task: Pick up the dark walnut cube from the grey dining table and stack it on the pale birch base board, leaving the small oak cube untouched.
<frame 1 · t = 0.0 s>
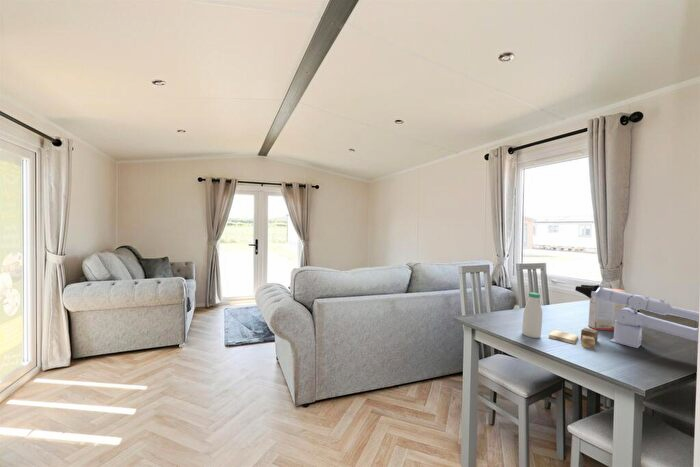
hand: (578, 287, 162), 22 cm above the table, tool horizontal, fingers open, 7 cm apart
milk bottle: (531, 335, 152), on the table
oak cube: (587, 346, 141), on the table
base board: (563, 338, 150), on the table
cracker box: (605, 329, 168), on the table
walnut cube: (588, 341, 148), on the table
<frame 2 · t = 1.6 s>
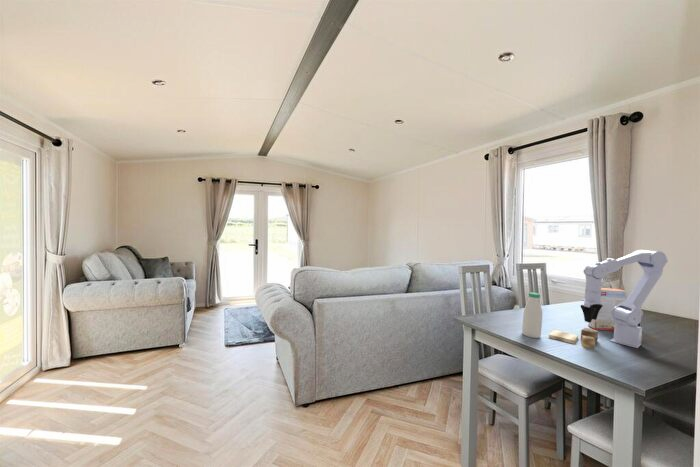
hand: (590, 320, 148), 9 cm above the table, tool pointing down, fingers open, 7 cm apart
nothing on the table moved.
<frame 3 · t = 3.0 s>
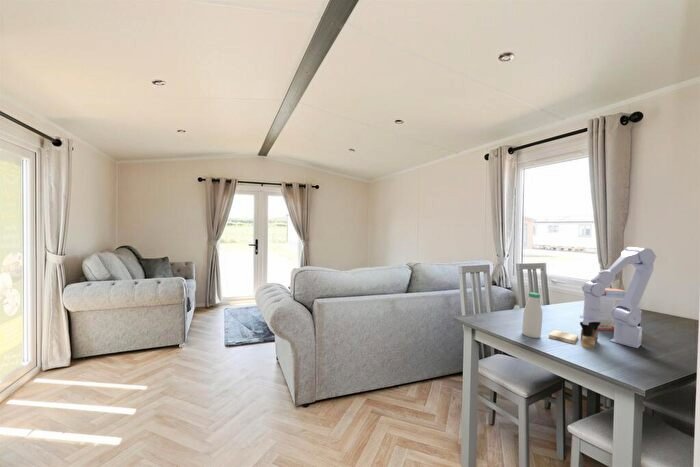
hand: (589, 337, 148), 1 cm above the table, tool pointing down, fingers closed on walnut cube, 5 cm apart
walnut cube: (588, 340, 148), on the table, touching gripper
everything else where it was.
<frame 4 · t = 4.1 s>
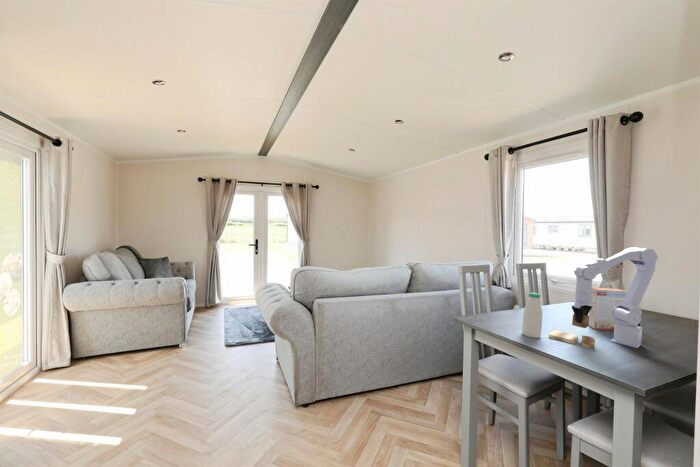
hand: (580, 321, 148), 9 cm above the table, tool pointing down, fingers closed on walnut cube, 5 cm apart
walnut cube: (580, 325, 149), point 7 cm above the table, touching gripper
everything else where it was.
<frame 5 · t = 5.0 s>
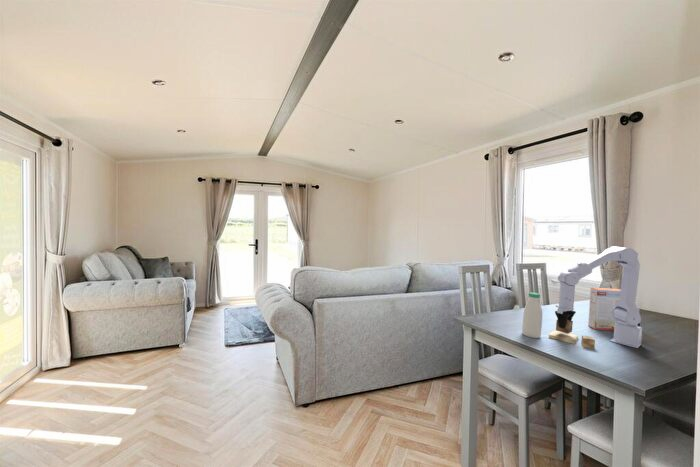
hand: (564, 326, 150), 5 cm above the table, tool pointing down, fingers closed on walnut cube, 5 cm apart
walnut cube: (563, 330, 150), point 3 cm above the table, touching gripper
everything else where it was.
when the fingers open (4 cm above the table, at t = 5.7 s): walnut cube stays where it is, resting on base board.
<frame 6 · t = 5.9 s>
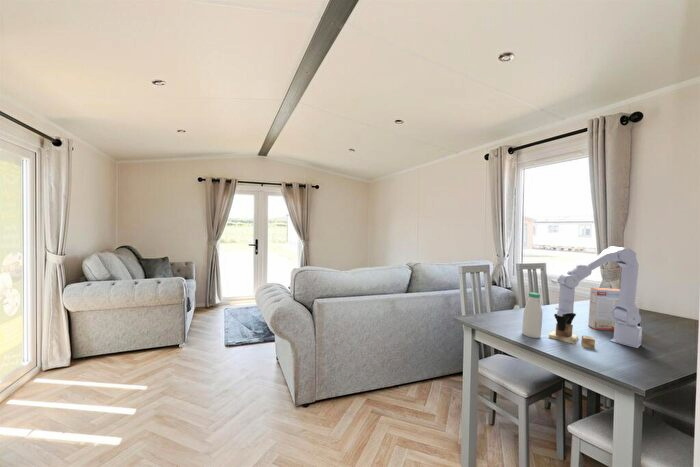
hand: (564, 329, 150), 4 cm above the table, tool pointing down, fingers open, 6 cm apart
walnut cube: (563, 334, 150), point 1 cm above the table, touching base board
everything else where it was.
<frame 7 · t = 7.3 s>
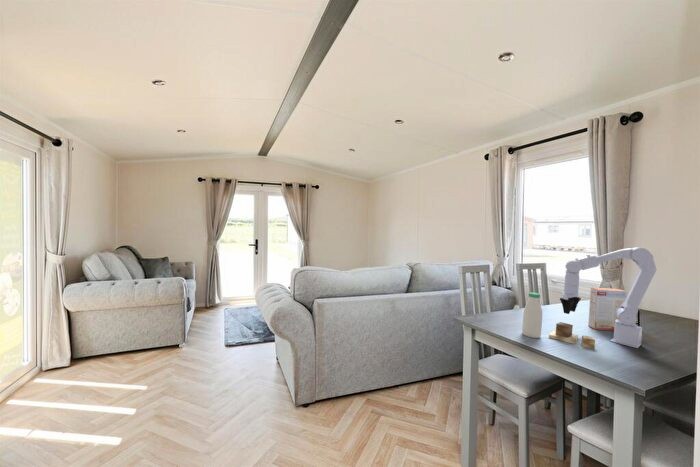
hand: (569, 312, 159), 10 cm above the table, tool pointing down, fingers open, 7 cm apart
nothing on the table moved.
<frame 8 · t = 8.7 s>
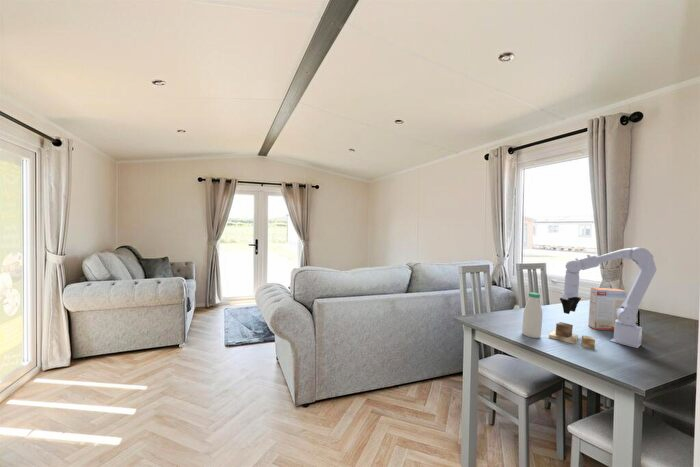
hand: (569, 312, 159), 10 cm above the table, tool pointing down, fingers open, 7 cm apart
nothing on the table moved.
at the end: walnut cube 0.1 cm off-centre on the base board, point 1.5 cm above the base board's base; walnut cube tilted 0°; the gripper is holding nothing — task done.
